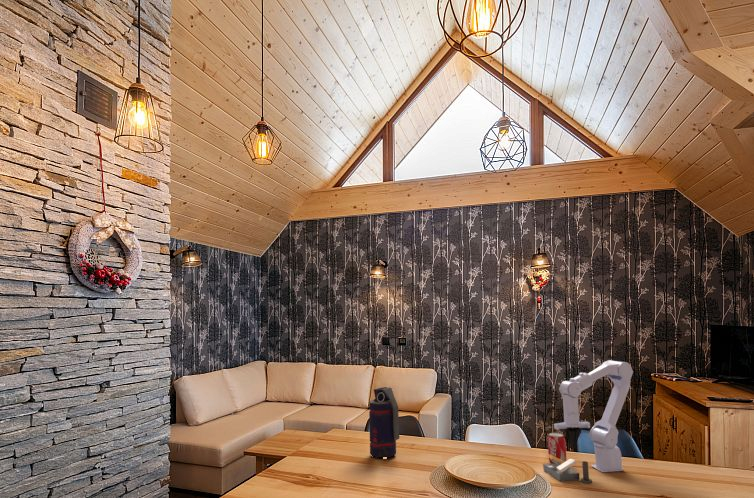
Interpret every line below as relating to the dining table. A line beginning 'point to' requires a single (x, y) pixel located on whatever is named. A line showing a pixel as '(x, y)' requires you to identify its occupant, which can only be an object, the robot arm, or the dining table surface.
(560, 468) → the paddle beige
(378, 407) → the grenade
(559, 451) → the soda can
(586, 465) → the post
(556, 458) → the paddle amber
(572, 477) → the grey tray
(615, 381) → the robot arm
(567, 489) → the dining table surface
